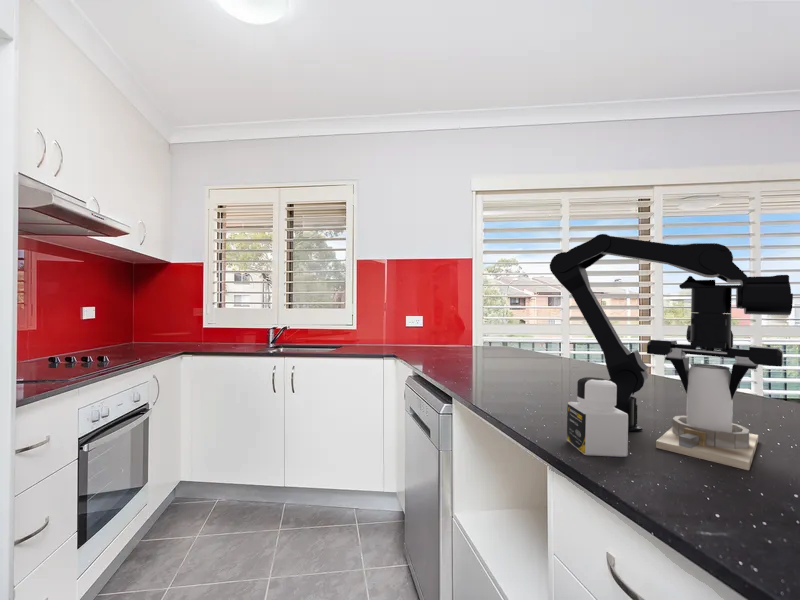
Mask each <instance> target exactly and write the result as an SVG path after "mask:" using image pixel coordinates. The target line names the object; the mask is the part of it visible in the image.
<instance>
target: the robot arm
mask: <svg viewBox="0 0 800 600" xmlns="http://www.w3.org/2000/svg"><path fill="white" fill-rule="evenodd" d="M607 255H609V256H613V257H614V256H615V257H621V258H626V259H627V258H628V259H632V260H639V261H645V262H650V263H657V264H663V265H668V266H671V267H674V268H677V269H679V270H683V271H685V272H688V273H691V274H694V275H697V276H700V277H703V278H712V279H695V278H694V277H693V276H691V275H689V276H688V277H687V278H686V280H684V281H683V282H682V283H680V284H679V289H681V290H691V294H690V295H691V297H690V299H691V300H690V301H691V303H690V308H691V309H690V312H691V313H690V324H689V325H687V330H686V335H685V337H686V340H687V342H688V343H689V344H680V343H678V341H677V340H676V339H662V338H659V339H658V338H655V339H650V340H649V341H648V342H647V343H646V354H647V355H654V356H655V355H657V356H665V357H664V360H665V361H670V362H671V365H672V366H673V368H674V369H675V370H676V373H677V374H678V376H679V379H680V381H681V384H682V386H683V388H684V391H685V393H686V394H687V388H688V371H689V369H690V357H689V356H687V355H695V356H703V357H716V358H726V359H727V358H728V359H734V361H736V362H735V363H732V368H731V372H730V373H731V379H730V385H729V390H730V394H731V399H734V397H735V394H736V393H737V391H738V388H739V386H740V384H741V382H742V380H743V378H744V377H745V375H746V374H747V372H748V371H749V370H757V369H758V368H759V365H760V366H769V367H771V366H772V367H783V364H784V358H783V357H784V351H783V350H781V349H780V348H779V347H774V346H773V347H771V346H761V345H760V346H758V345H750V346H749V348H748V349H747V348H735V347H734V333H733V330H732V301H733V300H732V299H733V298H732V297H733V296H732V292H733V291H732V290H735V307H736V309H741V310H743V313H744V315H758V316H759V315H760V316H761V315H762V316H763V315H767V316H791V314H792V310H793V304H794V303H793V302H794V301H793V300H794V297H793V296H794V294H793V293H792V288H791V284H790V275H788V274H776V275H771V276H767V275H766V276H748V275H746V273H745V271H744V270H742V269H740V268H739V267H738V266H737V265H736V264H735V263H734V261H733V260H734V256H733V253H732V251H731V250H730V249H729V248H728V247H727V246H726V245H725V244H720V243H718V242H717V243H715V242H713V243H712V242H709V243H708V242H707V243H705V242H703V243H701V242H700V243H699V242H697V243H683V244H679V243H678V244H671V243H663V242H658V241H657V242H656V241H648V240H641V239H635V238H634V239H633V238H629V237H628V238H627V237H619V236H612V235H609V234H606V233H600V234H597V235H596V236H594V237H592V238H591V239H590V240H587V241H586V242H583V243H581V244H579V245H576V246H574V247H573V248H571V249H569V250H568V251H563V252H559V253H557V254H555V255H554V256H553V257H552V259H551V261H550V264H549V270H550V273H552V275H553V277H555V278H556V280H557V281H558V282H559V283H560V284H561V285H562V287H564V289H566V290H567V291H568V293H569V294H570V295H571V296H572V299H574V301H575V303H576V305H577V307H578V309H579V311H580V313H581V315H582V316H583V319H584V320H585V321H586V323H587V325H588V327H589V329H590V331H591V333H592V335H593V336H594V338H595V340H596V342H597V344H598V345H599V347H600V349H601V350H602V352H603V357H604V361H605V366H606V369H607V370H606V371H607V372H608V376H609V379H608V380H610V381H612V382H614V383H615V384H616V385H617V400H616V406H614V407H615V408H617V409H619V410H621V411H623V412H625V413H627V414H628V432H632V431H634V432H635V431H643V427H642V426H639V425H638V404H637V397H635V396H634V395H635V393H638V392H639V391H641V390H642V389H643V387H644V386H645V384H647V381H648V379H649V377H648V376H649V375H648V371H647V370H648V369H649V366H648V365H647V364H645V363H644V362H645V361H643V359H642V356H641V354H640V351H639V350H638V349H636V350H634V351H632V352H631V351H630V350H629V349H628V347H626V346H625V345H624V344H623V342H622V340H621V339H620V337H619V335H618V333H617V332H616V329H615V328H614V326H613V325H612V322H611V321H610V319H609V318H608V316H607V314H606V311H604V309H603V307H602V305H601V303H600V301H599V300H598V298H597V296H596V295H595V292H594V291H593V290H592V288H591V285H590V281H589V275H588V272H587V270H586V269H588V268H590V267H591V266H593V265H594V264H595V263H597V262H598V261H599V260H601V259H602V258H604V257H605V256H607ZM713 278H717V279H720V280H722V281H724V282H726V283H728V284H716V279H713ZM737 283H738V284H737Z"/></svg>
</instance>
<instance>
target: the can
mask: <svg viewBox="0 0 800 600" xmlns="http://www.w3.org/2000/svg"><path fill="white" fill-rule="evenodd" d="M730 369H731V367H729V366H723V365H718V364H709V363H708V364H707V363H689V371H688V388H687V393H686V416H687V424H688V425H691V426H694V427H698V428H703V429H708V430H713V431H721V432H732V423H733V417H734V416H733V415H734V414H733V412H734V407H733V405H734V401H733V399H734V398H733V399H731V394H730V390H729V385H730V379H731V373H732V372H731V370H730Z"/></svg>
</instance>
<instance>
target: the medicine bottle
mask: <svg viewBox="0 0 800 600" xmlns="http://www.w3.org/2000/svg"><path fill="white" fill-rule="evenodd" d="M576 383H577V389H576V391H577V392H576V394H577V395H576V397H577V398H576V401H568V402H567V408H566V409H567V413H566V414H567V416H566V418H567V419H566V441H567V442H568V443H569V444H571V445H572V446H573V447H574V448H575V449H577V450H578V451H579V452H581V454H582V455H584V456H591V457H592V456H593V457H594V456H595V457H596V456H597V457H617V458H618V457H619V458H627V457H628V450H629V449H628V448H629V445H628V444H629V443H628V442H629V431H628V414H627V413H625V412H623V411H621V410H619V409H617V408H615V407H614V406H616V400H617V385H616V384H615V383H614V382H612V381H610V380H609V379H608V378H603V377H602V378H601V377H591V376H590V377H589V376H586V377H581V378H579V379H578V380H577V382H576Z"/></svg>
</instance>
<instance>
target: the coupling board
mask: <svg viewBox="0 0 800 600" xmlns="http://www.w3.org/2000/svg"><path fill="white" fill-rule="evenodd" d="M671 423H672V426H671V427H670V429H668V430H667V431H666V432H665V433H664V434H662V435H661V436H660V437H659V438H658V439H657V440H656V442H655V444H656V445H655V446H656V447H655V448H656V449H660V450H664V451H667V452H672V453H677V454H680V455H684V456H685V455H686V456H689V457H692V458H697V459H700V460H705V461H709V462H712V463H718V464H719V465H720V464H721V465H725V466H729V467H733V468H738V469H741V470H745V471H750V469H751V465H752V462H753V459H754V456H755V453H756V449H757V447H758V443H759V434H754V433H750V429H748V428H747V427H745V426H743V425H740V424H737V423H734V422H732V432H721V431H713V430H708V429H703V428H698V427H694V426H691V425H688V424H687V415H675V416H673V418H672V421H671Z"/></svg>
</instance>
